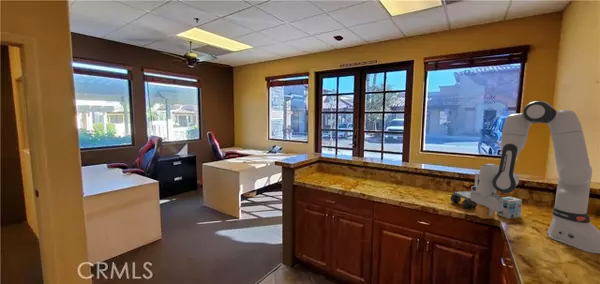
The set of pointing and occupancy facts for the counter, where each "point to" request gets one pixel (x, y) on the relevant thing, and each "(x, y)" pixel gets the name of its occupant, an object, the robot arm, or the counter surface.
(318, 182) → the counter surface
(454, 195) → the trolley
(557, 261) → the counter surface
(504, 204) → the light bulb box
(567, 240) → the robot arm
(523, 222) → the counter surface
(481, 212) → the block
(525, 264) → the counter surface
